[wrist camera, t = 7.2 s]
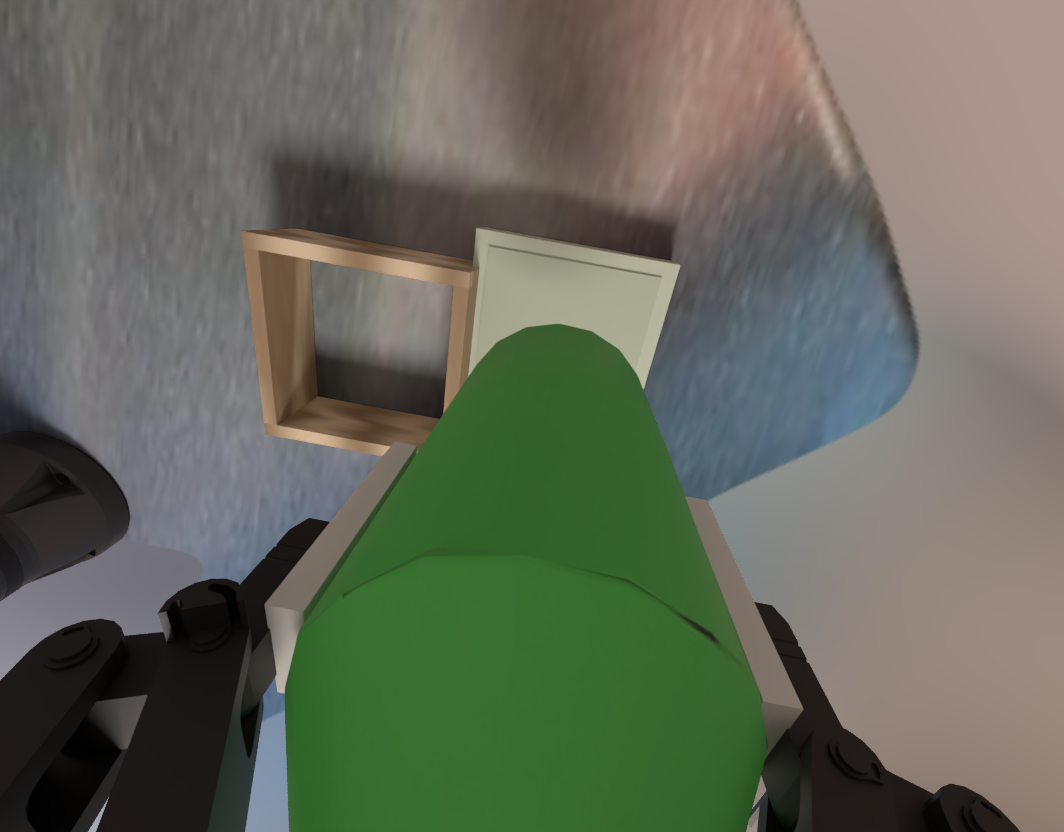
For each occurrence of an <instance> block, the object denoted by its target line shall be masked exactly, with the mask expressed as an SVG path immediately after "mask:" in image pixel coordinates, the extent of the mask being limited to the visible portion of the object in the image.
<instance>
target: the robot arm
mask: <svg viewBox="0 0 1064 832" xmlns="http://www.w3.org/2000/svg"><path fill="white" fill-rule="evenodd" d="M416 454H417V446H416V445H411V444H405V443H400V442H395V441H394V443H393V444H392V445H391V446H390V448H389V449H388V450H387V451H386V453H385V454H384V455H383V456H382V458H381V459H380V460H379V461H378V463H377V464H376V465H375V466H374V468H373V469H372V470H371V471H370V473H369V474H368V475H367V476H366V478H365V479H364V480H363V481H362V483H361V484H360V485H359V486H358V488H357V489H356V490H355V491H354V493H353V494H352V495H351V496H350V498H349V499H348V500H347V501H346V503H345V504H344V505H343V506H342V508H341V509H340V510H339V512H338V513H337V514H336V515H335V517H334V518H333V519H332V520H331V522H327V521H322V520H317V519H312V518H308V519H307V520H305V521H303V522H301V523H300V524H298V525H296V526H295V527H293V528H291V529H290V530H289V531H288V532H287V533H286V534H285V535H284V537H283V538H282V539H281V540H280V541H279V542H278V543H277V546H276V547H274V548H273V549H272V550H271V551H270V552H269V553H268V554H267V555H266V558H265V559H263V560H262V561H261V562H260V563H259V564H258V565H257V566H256V567H255V569H254V570H253V571H252V572H251V573H250V574H249V575H248V576H247V577H246V579H245V580H244V581H243V582H242V583H241V584H240V585H239V584H238V582H235V581H232V580H229V579H209V580H205V581H201V582H197V583H194V584H192V585H190V586H188V587H186V588H184V589H182V590H180V591H178V592H177V593H176V594H175V595H173V596H172V597H171V598H170V599H168V600H167V601H166V602H165V604H164V605H163V607H162V608H161V609H160V611H159V612H158V615H159V618H160V622H161V625H162V628H163V631H164V632H160V633H149V634H139V635H129V636H124V634H123V631H122V628H121V627H120V626H119V625H118V624H117V623H115V622H114V621H110V620H104V619H96V620H88V621H82V622H80V623H76V624H74V625H70V626H67V627H65V628H62V629H61V630H59V631H57V632H55V633H53V634H52V635H50V636H48V637H46V638H44V639H43V640H42V641H41V642H39V643H38V644H37V645H36V646H35V647H33V648H32V649H31V650H30V651H29V652H28V653H27V654H26V655H25V656H24V657H23V658H22V659H21V660H20V661H19V662H18V663H17V664H16V665H15V666H14V667H13V668H12V669H11V670H10V671H9V672H8V673H7V674H6V675H5V677H3V678H2V679H1V681H0V832H88V831H89V829H90V827H91V826H92V824H93V822H94V821H95V819H96V817H97V816H98V814H99V812H100V811H101V809H102V807H103V806H104V804H105V802H106V801H107V799H108V797H109V799H108V802H107V804H106V807H105V810H104V812H103V815H102V818H101V820H100V823H99V825H98V828H97V831H96V832H245V827H246V820H247V814H248V808H249V801H250V794H251V787H252V781H253V775H254V768H255V761H256V755H257V748H258V741H259V735H260V729H261V722H262V715H263V709H264V705H263V695H264V693H265V692H266V690H267V688H268V687H269V685H270V684H271V682H272V681H273V679H274V678H276V685H277V691H278V692H279V693H284V694H285V685H286V681H287V677H288V673H289V669H290V665H291V661H292V656H293V652H294V648H295V644H296V640H297V636H298V633H299V631H300V629H301V627H302V626H303V624H304V623H305V621H306V620H307V618H308V617H309V615H310V614H311V612H312V611H313V609H314V608H315V606H316V605H317V603H318V602H319V600H320V599H321V597H322V596H323V594H324V593H325V591H326V590H327V588H328V587H329V585H330V584H331V582H332V581H333V579H334V578H335V576H336V575H337V573H338V572H339V570H340V569H341V567H342V566H343V564H344V563H345V561H346V560H347V558H348V556H349V555H350V553H351V552H352V550H353V549H354V547H355V546H356V544H357V543H358V541H359V540H360V538H361V537H362V535H363V534H364V532H365V531H366V529H367V528H368V526H369V525H370V523H371V522H372V520H373V519H374V517H375V516H376V514H377V513H378V511H379V510H380V508H381V507H382V505H383V504H384V502H385V501H386V499H387V498H388V496H389V495H390V493H391V492H392V490H393V489H394V487H395V486H396V484H397V483H398V481H399V480H400V478H401V477H402V475H403V474H404V472H405V471H406V469H407V468H408V466H409V465H410V463H411V462H412V460H413V459H414V457H415V456H416ZM685 498H686V501H687V503H688V506H689V509H690V511H691V514H692V517H693V519H694V522H695V525H696V527H697V530H698V533H699V535H700V538H701V541H702V543H703V546H704V549H705V551H706V554H707V557H708V559H709V562H710V564H711V567H712V570H713V572H714V575H715V578H716V580H717V583H718V586H719V588H720V591H721V594H722V596H723V599H724V602H725V604H726V607H727V610H728V612H729V615H730V618H731V620H732V623H733V626H734V628H735V631H736V634H737V636H738V639H739V641H740V644H741V647H742V649H743V652H744V655H745V657H746V660H747V663H748V665H749V668H750V670H751V672H752V675H753V677H754V679H755V682H756V684H757V687H758V690H759V696H760V702H761V708H762V714H763V720H764V726H765V731H766V736H767V740H768V743H767V744H768V749H767V753H766V758H765V761H764V765H763V769H762V773H761V775H762V778H763V781H764V784H765V787H766V790H767V791H766V792H765V793H764V795H763V796H762V797H761V799H760V800H759V802H758V803H757V804H756V805H755V807H754V808H753V809H752V810H751V814H750V818H749V821H748V825H749V826H751V827H752V825H753V824H754V823H755V822H756V820H757V819H758V829H757V832H1020V831H1019V829H1018V828H1017V827H1016V826H1015V825H1014V824H1013V823H1012V822H1011V821H1010V820H1009V819H1008V818H1007V817H1006V816H1005V815H1004V814H1003V813H1002V811H1001V810H999V809H998V808H997V807H995V806H994V805H993V804H992V803H990V802H989V801H988V800H986V799H985V798H984V797H982V796H981V795H979V794H977V793H975V792H973V791H972V790H970V789H968V788H966V787H964V786H959V785H955V784H949V785H946V786H943V787H941V788H940V789H939V790H938V791H937V792H936V793H935V794H932V793H930V792H928V791H926V790H924V789H922V788H921V787H918V786H916V785H914V784H913V783H910V782H909V781H907V780H904V779H903V778H901V777H899V776H896V775H895V774H893V773H891V772H889V771H887V770H886V769H885V768H884V766H883V765H882V763H881V762H880V760H879V759H878V757H877V756H876V754H875V753H874V752H873V751H872V750H871V749H870V748H869V747H868V746H867V745H866V744H865V743H864V742H863V741H862V740H861V739H859V738H858V737H856V736H855V735H854V734H852V733H851V732H849V731H848V730H846V729H844V728H843V727H842V726H841V724H840V722H839V720H838V718H837V716H836V714H835V712H834V711H833V709H832V707H831V705H830V703H829V701H828V699H827V697H826V695H825V693H824V691H823V689H822V687H821V685H820V684H819V682H818V680H817V678H816V676H815V674H814V672H813V670H812V668H811V666H810V664H809V663H807V662H806V657H805V655H804V653H803V651H802V649H801V647H799V646H798V641H797V639H796V637H795V635H794V634H793V632H792V630H791V628H790V626H789V624H788V623H787V622H786V620H785V619H784V618H783V617H782V616H781V615H780V614H779V613H778V612H777V611H776V609H775V608H774V607H773V606H772V605H767V604H762V603H756V602H754V601H753V599H752V597H751V594H750V592H749V590H748V588H747V586H746V583H745V581H744V579H743V577H742V575H741V573H740V570H739V568H738V566H737V564H736V562H735V560H734V557H733V555H732V553H731V551H730V549H729V547H728V544H727V542H726V540H725V538H724V536H723V534H722V531H721V529H720V527H719V525H718V523H717V520H716V518H715V516H714V514H713V512H712V510H711V507H710V505H709V503H708V501H707V500H702V499H697V498H691V497H686V496H685ZM128 526H129V513H128V508H127V505H126V502H125V500H124V498H123V496H122V494H121V492H120V490H119V489H118V487H117V486H116V484H115V483H114V482H113V480H112V479H111V478H110V477H109V476H108V475H107V473H106V472H105V471H104V470H103V469H102V468H101V467H99V466H98V465H97V464H96V463H95V462H94V461H93V460H91V459H90V458H89V457H87V456H86V455H85V454H83V453H82V452H80V451H78V450H77V449H75V448H73V447H72V446H70V445H68V444H66V443H64V442H62V441H60V440H57V439H55V438H52V437H49V436H46V435H42V434H38V433H32V432H13V433H8V434H5V435H2V436H0V601H2V600H3V599H5V598H6V597H7V596H9V595H10V594H12V593H13V592H15V591H16V590H18V589H19V588H21V587H22V586H24V585H26V584H28V583H30V582H33V581H35V580H38V579H41V578H43V577H46V576H48V575H51V574H53V573H56V572H58V571H61V570H64V569H66V568H69V567H71V566H74V565H76V564H78V563H80V562H83V561H86V560H89V559H91V558H93V557H96V556H98V555H100V554H101V553H103V552H104V551H106V550H107V549H109V548H110V547H111V546H113V545H114V544H116V543H117V542H118V541H120V540H121V539H122V538H123V537H124V535H125V534H126V532H127V529H128Z"/></svg>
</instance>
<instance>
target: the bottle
mask: <svg viewBox="0 0 1064 832" xmlns="http://www.w3.org/2000/svg"><path fill="white" fill-rule="evenodd" d="M285 724H286V754H287V782H288V810H289V832H746V829H747V825H748V821H749V818H750V814H751V810H752V807H753V802H754V799H755V795H756V792H757V788H758V784H759V780H760V776H761V773H762V769H763V765H764V761H765V758H766V753H767V749H768V744H767V743H768V740H767V736H766V731H765V726H764V720H763V714H762V708H761V702H760V696H759V690H758V687H757V684H756V682H755V679H754V677H753V675H752V672H751V670H750V668H749V665H748V663H747V660H746V657H745V655H744V652H743V649H742V647H741V644H740V641H739V639H738V636H737V634H736V631H735V628H734V626H733V623H732V620H731V618H730V615H729V612H728V610H727V607H726V604H725V602H724V599H723V596H722V594H721V591H720V588H719V586H718V583H717V580H716V578H715V575H714V572H713V570H712V567H711V564H710V562H709V559H708V557H707V554H706V551H705V549H704V546H703V543H702V541H701V538H700V535H699V533H698V530H697V527H696V525H695V522H694V519H693V517H692V514H691V511H690V509H689V506H688V503H687V501H686V498H685V495H684V493H683V490H682V488H681V485H680V482H679V480H678V477H677V474H676V472H675V469H674V466H673V464H672V461H671V458H670V456H669V453H668V450H667V448H666V445H665V443H664V440H663V438H662V435H661V433H660V430H659V428H658V425H657V423H656V420H655V418H654V415H653V413H652V410H651V408H650V405H649V403H648V400H647V398H646V395H645V393H644V390H643V388H642V385H641V383H640V380H639V378H638V375H637V374H636V372H635V371H634V370H633V368H632V367H631V365H630V364H629V362H628V361H627V360H626V358H625V357H624V355H623V354H622V352H621V351H620V350H619V349H618V348H616V347H615V346H613V345H612V344H610V343H609V342H607V341H606V340H604V339H603V338H601V337H600V336H598V335H597V334H595V333H594V332H592V331H589V330H585V329H580V328H576V327H572V326H568V325H563V324H550V325H541V326H532V327H525V328H523V329H521V330H519V331H517V332H515V333H513V334H511V335H509V336H508V337H506V338H504V339H502V340H500V341H498V342H496V344H495V345H494V346H493V347H492V348H491V349H490V350H489V351H488V352H487V354H486V355H485V356H484V357H483V358H482V359H481V360H480V361H479V362H478V364H477V365H476V366H475V368H474V369H473V371H472V372H471V374H470V375H469V377H468V378H467V380H466V381H465V382H464V384H463V385H462V387H461V388H460V390H459V391H458V393H457V394H456V396H455V397H454V399H453V400H452V402H451V403H450V405H449V406H448V408H447V409H446V411H445V412H444V414H443V415H442V417H441V418H440V420H439V421H438V423H437V424H436V425H435V427H434V428H433V430H432V431H431V433H430V434H429V436H428V437H427V439H426V440H425V442H424V443H423V445H422V446H421V448H420V449H419V451H418V453H417V454H416V456H415V457H414V459H413V460H412V462H411V463H410V465H409V466H408V468H407V469H406V471H405V472H404V474H403V475H402V477H401V478H400V480H399V481H398V483H397V484H396V486H395V487H394V489H393V490H392V492H391V493H390V495H389V496H388V498H387V499H386V501H385V502H384V504H383V505H382V507H381V508H380V510H379V511H378V513H377V514H376V516H375V517H374V519H373V520H372V522H371V523H370V525H369V526H368V528H367V529H366V531H365V532H364V534H363V535H362V537H361V538H360V540H359V541H358V543H357V544H356V546H355V547H354V549H353V550H352V552H351V553H350V555H349V556H348V558H347V560H346V561H345V563H344V564H343V566H342V567H341V569H340V570H339V572H338V573H337V575H336V576H335V578H334V579H333V581H332V582H331V584H330V585H329V587H328V588H327V590H326V591H325V593H324V594H323V596H322V597H321V599H320V600H319V602H318V603H317V605H316V606H315V608H314V609H313V611H312V612H311V614H310V615H309V617H308V618H307V620H306V621H305V623H304V624H303V626H302V627H301V629H300V631H299V633H298V636H297V640H296V644H295V648H294V652H293V656H292V661H291V665H290V669H289V673H288V677H287V681H286V685H285Z"/></svg>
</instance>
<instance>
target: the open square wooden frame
mask: <svg viewBox="0 0 1064 832" xmlns="http://www.w3.org/2000/svg"><path fill="white" fill-rule="evenodd" d="M241 233H242V241H243V250H244V258H245V266H246V275H247V283H248V291H249V300H250V308H251V317H252V325H253V333H254V342H255V350H256V358H257V367H258V375H259V383H260V392H261V400H262V408H263V417H264V425H265V434H268V435H273V436H278V437H284V438H289V439H294V440H300V441H305V442H310V443H316V444H321V445H326V446H331V447H337V448H342V449H347V450H353V451H358V452H363V453H369V454H374V455H379V456H383V455H384V454H385V453H386V451H387V450H388V449H389V448H390V446H391V445H392V444H393V443H394V441H395V442H400V443H405V444H411V445H416V446H417V453H418V451H419V449H420V448H421V446H422V445H423V443H424V442H425V440H426V439H427V437H428V436H429V434H430V433H431V431H432V430H433V428H434V427H435V425H436V424H437V423H438V421H439V420H440V419H437V418H432V417H426V416H421V415H416V414H410V413H405V412H400V411H394V410H389V409H384V408H378V407H373V406H368V405H362V404H357V403H351V402H346V401H341V400H335V399H330V398H325V397H319V396H318V390H317V372H316V355H315V337H314V320H313V303H312V285H311V268H310V260H315V261H320V262H326V263H331V264H337V265H342V266H348V267H353V268H359V269H364V270H370V271H375V272H380V273H386V274H391V275H397V276H402V277H408V278H413V279H419V280H424V281H430V282H435V283H440V284H446V285H451V286H454V288H453V300H452V313H451V325H450V337H449V350H448V362H447V374H446V386H445V399H444V411H443V414H444V412H445V411H446V409H447V408H448V406H449V405H450V403H451V402H452V400H453V399H454V397H455V396H456V394H457V393H458V391H459V390H460V388H461V387H462V385H463V384H464V382H465V381H466V380H467V378H468V374H469V364H470V355H471V345H472V335H473V326H474V316H475V307H476V297H477V288H478V278H479V269H480V268H479V267H473V261H472V260H466V259H461V258H455V257H450V256H445V255H439V254H434V253H428V252H423V251H417V250H412V249H406V248H401V247H395V246H390V245H384V244H379V243H373V242H368V241H362V240H357V239H351V238H346V237H340V236H335V235H330V234H324V233H319V232H313V231H308V230H302V229H297V228H292V229H271V230H250V231H241Z"/></svg>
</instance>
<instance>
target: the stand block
mask: <svg viewBox="0 0 1064 832" xmlns="http://www.w3.org/2000/svg"><path fill="white" fill-rule="evenodd" d="M473 267H479V268H480V269H479V278H478V288H477V297H476V307H475V316H474V326H473V335H472V345H471V355H470V364H469V374H468V377H469V375H470V374H471V372H472V371H473V369H474V368H475V366H476V365H477V364H478V362H479V361H480V360H481V359H482V358H483V357H484V356H485V355H486V354H487V352H488V351H489V350H490V349H491V348H492V347H493V346H494V345H495V344H496V342H498V341H500V340H502V339H504V338H506V337H508V336H509V335H511V334H513V333H515V332H517V331H519V330H521V329H523V328H525V327H532V326H541V325H550V324H563V325H568V326H572V327H576V328H580V329H585V330H589V331H592V332H594V333H595V334H597V335H598V336H600V337H601V338H603V339H604V340H606V341H607V342H609V343H610V344H612V345H613V346H615V347H616V348H618V349H619V350H620V351H621V352H622V354H623V355H624V357H625V358H626V360H627V361H628V362H629V364H630V365H631V367H632V368H633V370H634V371H635V372H636V374H637V375H638V378H639V380H640V383H641V385H642V388H643V389H644V386H645V383H646V379H647V376H648V373H649V369H650V366H651V363H652V359H653V356H654V352H655V349H656V346H657V342H658V339H659V336H660V332H661V329H662V325H663V322H664V319H665V315H666V312H667V309H668V305H669V302H670V299H671V295H672V292H673V288H674V285H675V282H676V278H677V275H678V272H679V268H680V265H679V264H677V263H675V262H673V261H669V260H664V259H658V258H653V257H647V256H642V255H636V254H631V253H625V252H620V251H614V250H609V249H603V248H598V247H592V246H587V245H581V244H576V243H570V242H565V241H559V240H554V239H548V238H543V237H537V236H532V235H526V234H521V233H515V232H510V231H504V230H499V229H493V228H488V227H481V228H476V237H475V247H474V257H473Z"/></svg>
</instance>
